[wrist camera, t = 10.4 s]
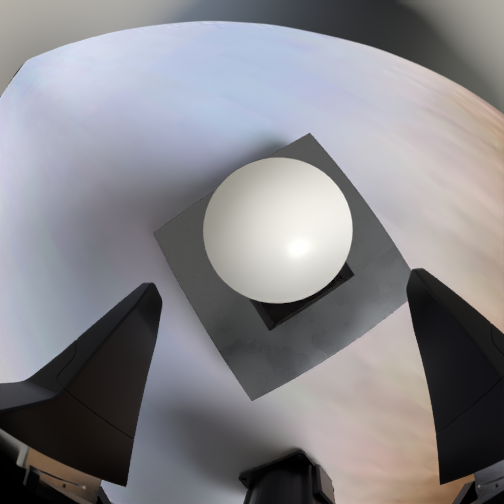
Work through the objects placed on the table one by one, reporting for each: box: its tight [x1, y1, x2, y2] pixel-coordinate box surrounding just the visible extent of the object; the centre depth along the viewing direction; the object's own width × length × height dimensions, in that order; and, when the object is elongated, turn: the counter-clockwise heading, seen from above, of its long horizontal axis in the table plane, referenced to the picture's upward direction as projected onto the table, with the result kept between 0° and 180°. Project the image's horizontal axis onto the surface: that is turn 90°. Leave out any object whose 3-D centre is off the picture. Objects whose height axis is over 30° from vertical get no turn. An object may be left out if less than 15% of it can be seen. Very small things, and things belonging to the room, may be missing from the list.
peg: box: [203, 158, 353, 303], centre depth 14 cm, size 4×4×13 cm
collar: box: [153, 133, 411, 401], centre depth 19 cm, size 13×13×4 cm
